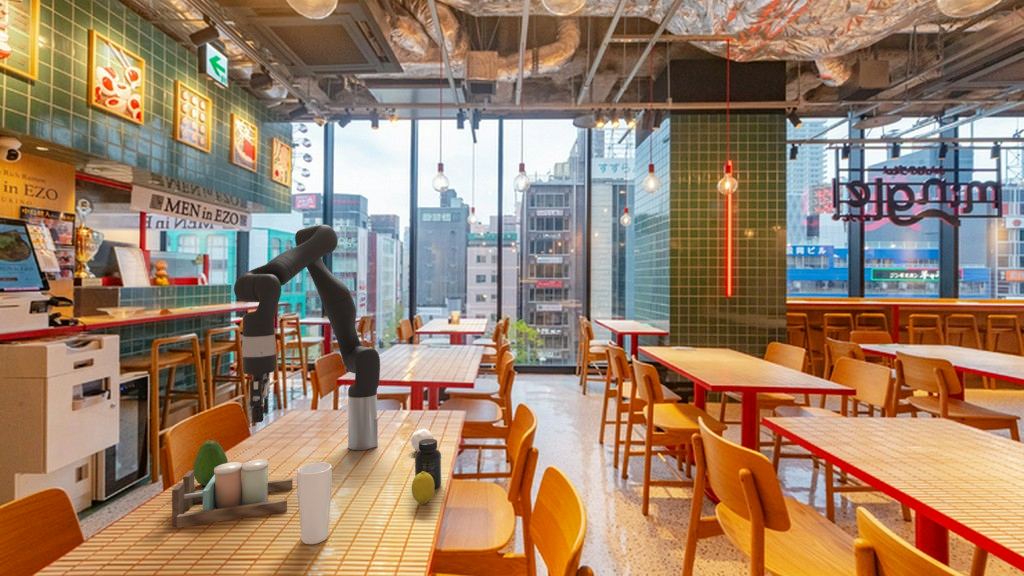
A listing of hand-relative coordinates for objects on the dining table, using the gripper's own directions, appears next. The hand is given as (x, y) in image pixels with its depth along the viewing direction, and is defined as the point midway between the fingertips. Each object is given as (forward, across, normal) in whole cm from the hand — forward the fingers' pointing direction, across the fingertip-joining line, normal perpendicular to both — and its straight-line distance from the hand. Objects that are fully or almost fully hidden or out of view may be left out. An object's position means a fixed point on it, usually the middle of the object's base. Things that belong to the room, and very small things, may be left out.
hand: (260, 417), depth 118 cm
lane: (+20, -3, +5) cm, 21 cm away
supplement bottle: (+21, -8, -40) cm, 46 cm away
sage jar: (+20, -3, +1) cm, 21 cm away
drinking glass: (+20, -26, -13) cm, 36 cm away
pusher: (+20, -3, +14) cm, 25 cm away
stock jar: (+20, -3, +7) cm, 22 cm away
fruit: (+20, +14, +14) cm, 29 cm away
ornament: (+22, +20, -44) cm, 53 cm away
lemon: (+21, -18, -37) cm, 47 cm away
